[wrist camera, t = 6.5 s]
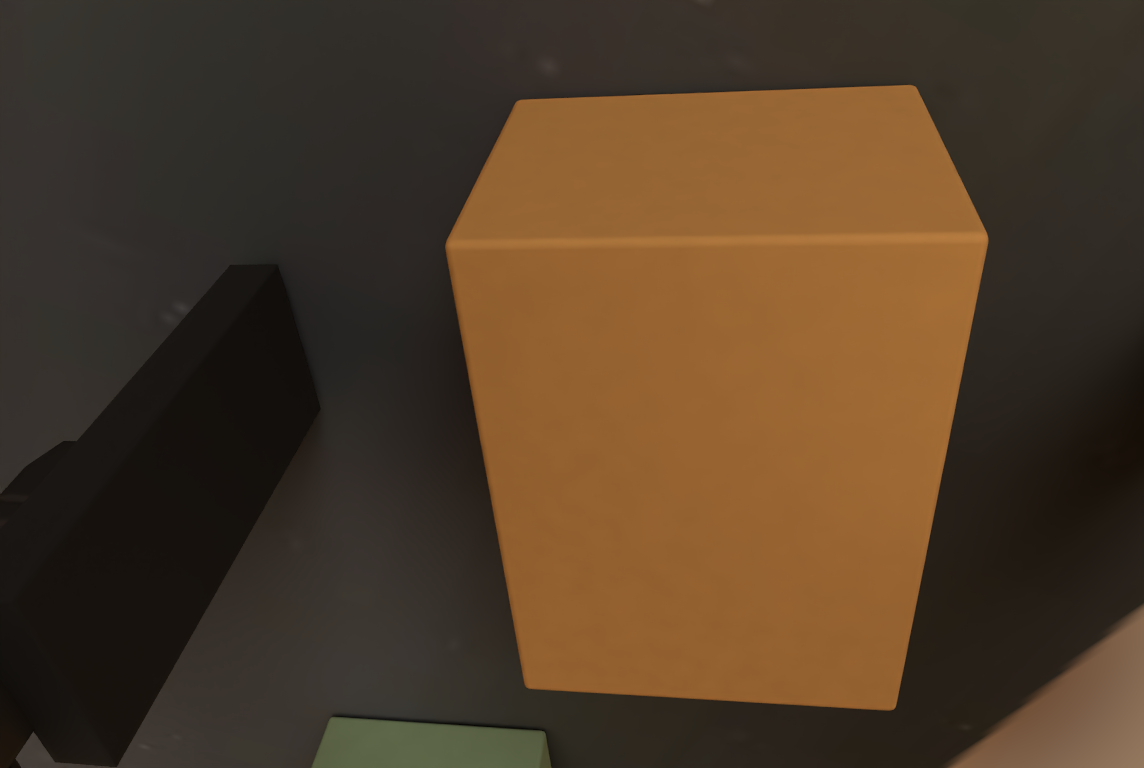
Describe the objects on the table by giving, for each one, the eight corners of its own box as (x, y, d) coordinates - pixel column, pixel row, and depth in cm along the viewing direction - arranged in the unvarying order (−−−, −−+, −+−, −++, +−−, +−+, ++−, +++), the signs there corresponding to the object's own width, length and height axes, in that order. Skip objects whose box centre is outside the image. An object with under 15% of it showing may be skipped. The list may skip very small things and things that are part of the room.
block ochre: (861, 503, 15) (896, 714, 12) (562, 494, 16) (523, 691, 13) (917, 82, 11) (993, 235, 8) (514, 97, 12) (441, 243, 9)
